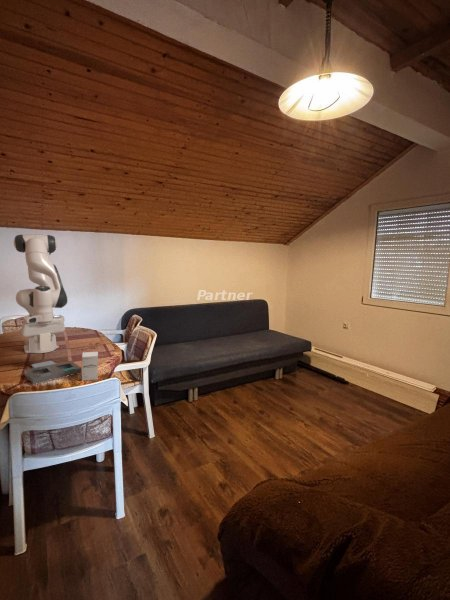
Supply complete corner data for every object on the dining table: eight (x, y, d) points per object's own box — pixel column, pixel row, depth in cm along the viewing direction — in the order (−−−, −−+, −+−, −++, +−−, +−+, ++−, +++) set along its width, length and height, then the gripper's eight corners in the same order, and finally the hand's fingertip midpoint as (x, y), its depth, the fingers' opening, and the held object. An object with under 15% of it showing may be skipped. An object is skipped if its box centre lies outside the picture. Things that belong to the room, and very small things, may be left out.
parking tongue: (31, 366, 161) (31, 364, 161) (51, 362, 168) (51, 360, 168) (36, 371, 155) (36, 369, 155) (57, 367, 162) (57, 364, 162)
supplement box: (81, 381, 146) (81, 356, 144) (82, 375, 153) (82, 352, 151) (97, 379, 149) (98, 355, 147) (97, 374, 156) (97, 351, 154)
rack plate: (24, 375, 149) (24, 369, 148) (70, 365, 165) (70, 360, 164) (33, 384, 139) (32, 378, 139) (81, 373, 156) (81, 367, 155)
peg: (37, 348, 160) (37, 332, 159) (47, 347, 164) (47, 331, 163) (40, 351, 157) (40, 334, 156) (50, 349, 161) (50, 333, 159)
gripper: (62, 313, 168) (62, 337, 170) (19, 317, 153) (20, 343, 155) (66, 316, 163) (66, 340, 166) (22, 320, 148) (23, 346, 151)
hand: (43, 342), depth 160 cm, fingers closed on peg, 5 cm apart
